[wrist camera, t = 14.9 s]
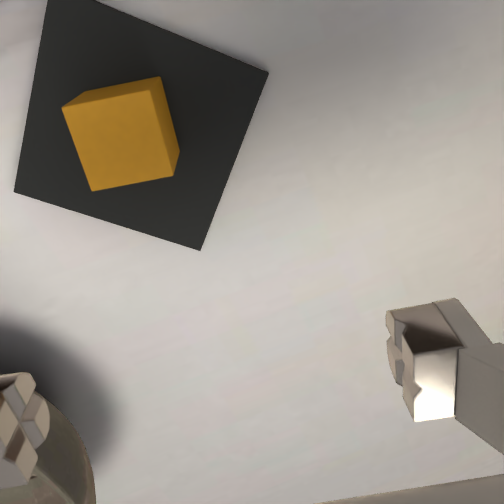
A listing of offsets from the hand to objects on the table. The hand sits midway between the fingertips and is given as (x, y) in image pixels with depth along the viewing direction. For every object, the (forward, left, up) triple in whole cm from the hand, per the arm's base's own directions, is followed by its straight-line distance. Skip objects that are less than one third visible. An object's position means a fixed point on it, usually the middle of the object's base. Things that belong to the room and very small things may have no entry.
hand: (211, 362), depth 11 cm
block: (+1, -5, -20) cm, 20 cm away
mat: (+2, -5, -20) cm, 21 cm away
